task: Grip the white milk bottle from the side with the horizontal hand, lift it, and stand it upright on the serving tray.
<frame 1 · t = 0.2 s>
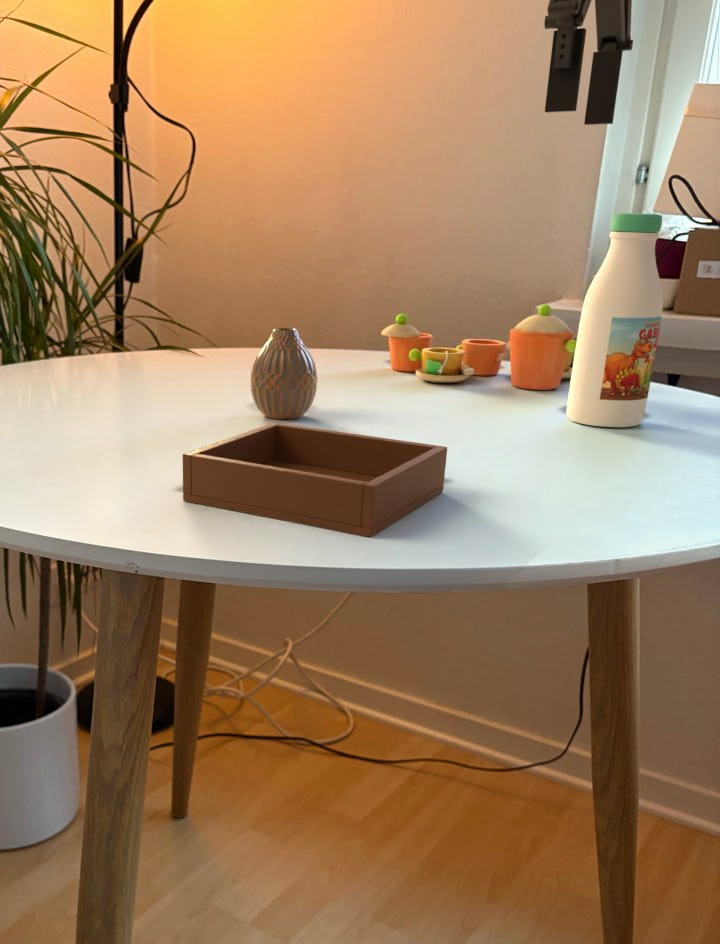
hand: (580, 118, 97), 28 cm above the table, tool pointing down, fingers open, 13 cm apart
vase: (282, 417, 104), on the table
milk bottle: (603, 423, 103), on the table
toy tea set: (476, 379, 127), on the table
tray: (315, 496, 76), on the table
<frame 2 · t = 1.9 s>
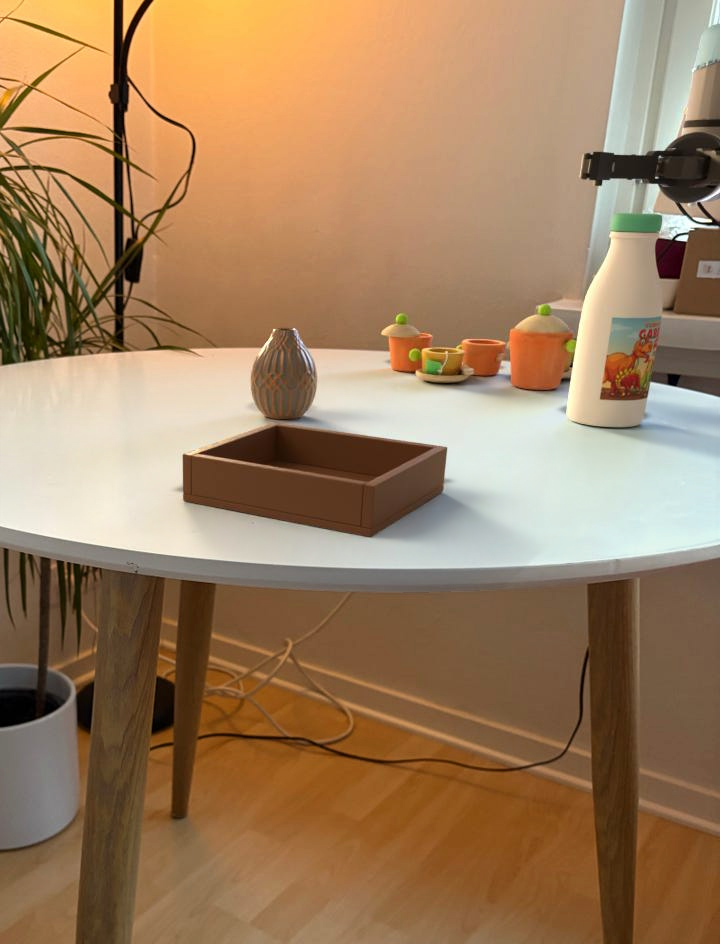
hand: (662, 166, 100), 24 cm above the table, tool horizontal, fingers open, 13 cm apart
nothing on the table moved.
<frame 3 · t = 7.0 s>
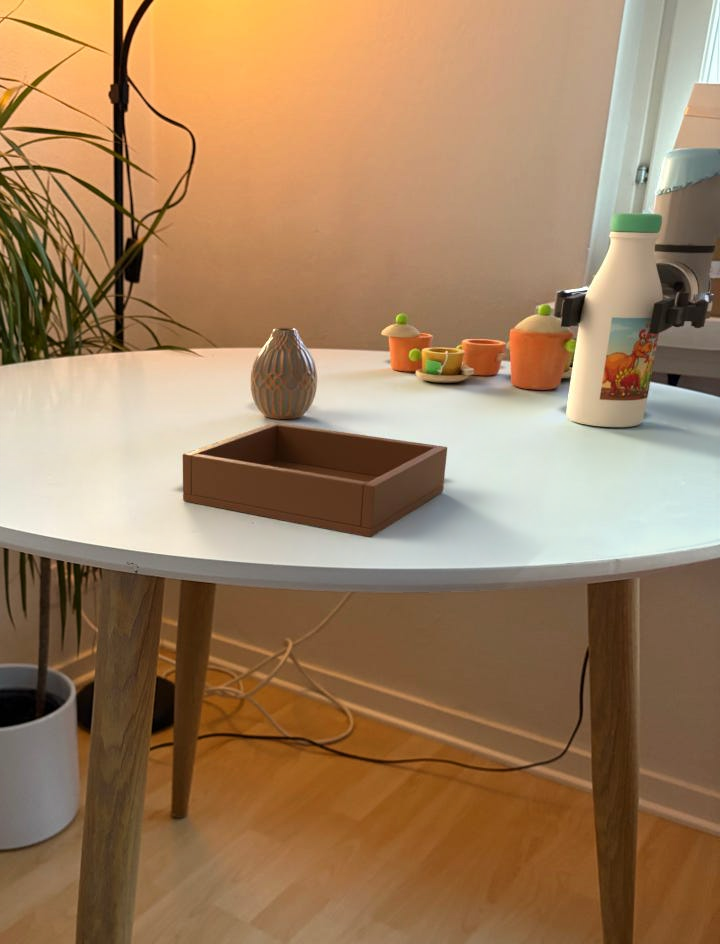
hand: (610, 315, 95), 11 cm above the table, tool horizontal, fingers closed on milk bottle, 8 cm apart
milk bottle: (603, 423, 103), on the table, touching gripper
everything else where it was.
when the fingers open (12 cm above the table, at t = 18.4 s): milk bottle stays where it is, resting on tray.
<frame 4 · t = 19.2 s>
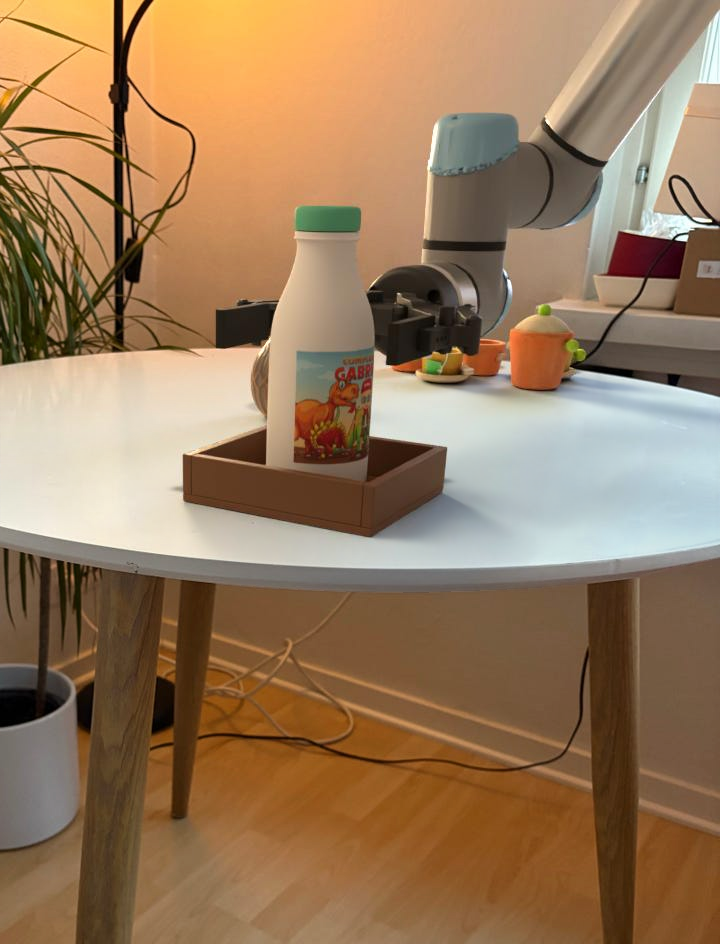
hand: (301, 336, 68), 12 cm above the table, tool horizontal, fingers open, 13 cm apart
milk bottle: (315, 491, 76), resting on tray
everything else where it was.
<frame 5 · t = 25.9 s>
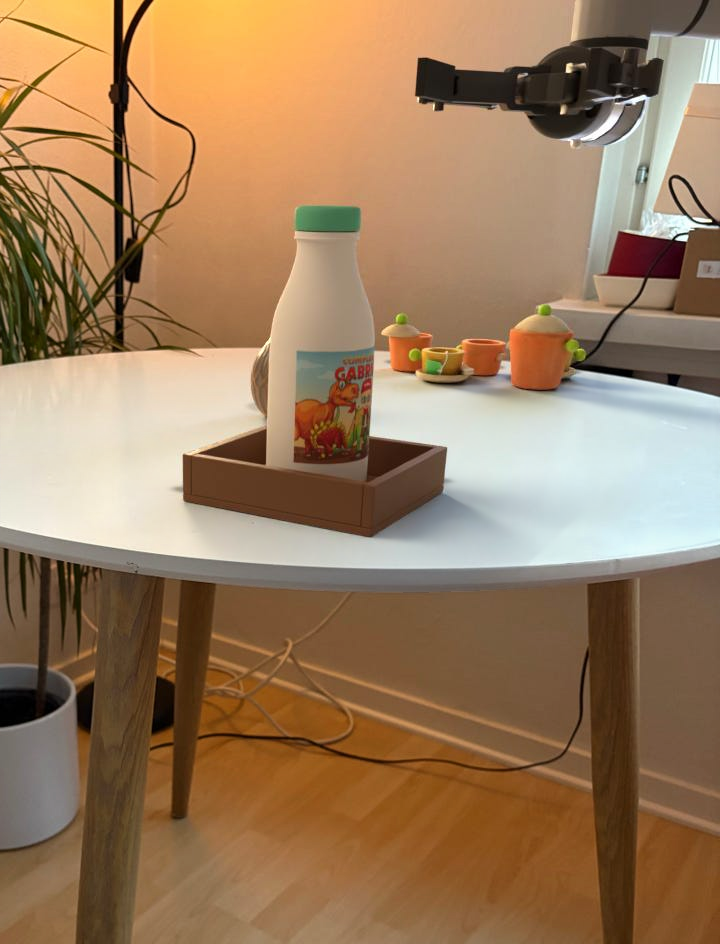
hand: (503, 73, 76), 30 cm above the table, tool horizontal, fingers open, 13 cm apart
nothing on the table moved.
at the end: milk bottle inside the target area in the tray (0.1 cm from its centre), point 0.4 cm above the tray's base; milk bottle tilted 0°; the gripper is holding nothing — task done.
